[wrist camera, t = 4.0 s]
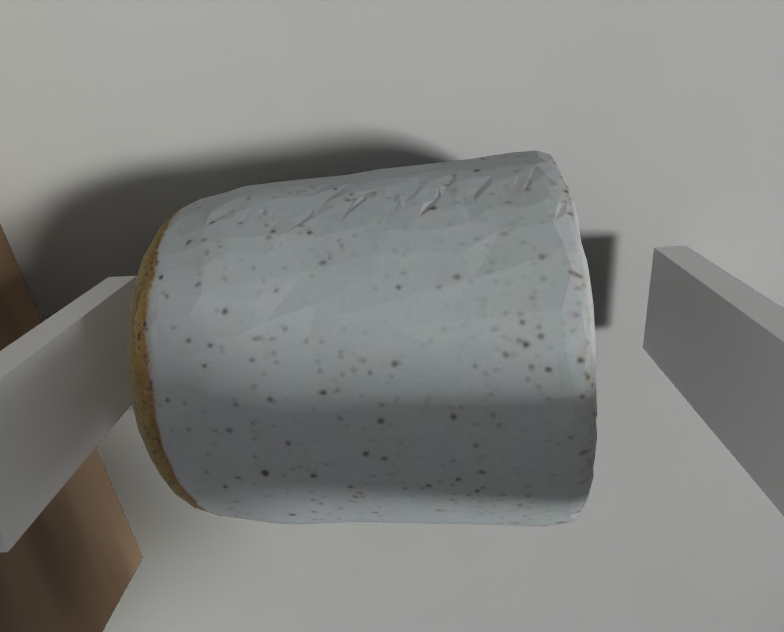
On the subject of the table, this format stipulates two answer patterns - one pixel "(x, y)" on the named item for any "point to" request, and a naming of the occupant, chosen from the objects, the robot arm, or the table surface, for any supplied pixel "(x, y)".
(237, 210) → the ceramic mug
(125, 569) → the walnut block
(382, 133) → the table surface
